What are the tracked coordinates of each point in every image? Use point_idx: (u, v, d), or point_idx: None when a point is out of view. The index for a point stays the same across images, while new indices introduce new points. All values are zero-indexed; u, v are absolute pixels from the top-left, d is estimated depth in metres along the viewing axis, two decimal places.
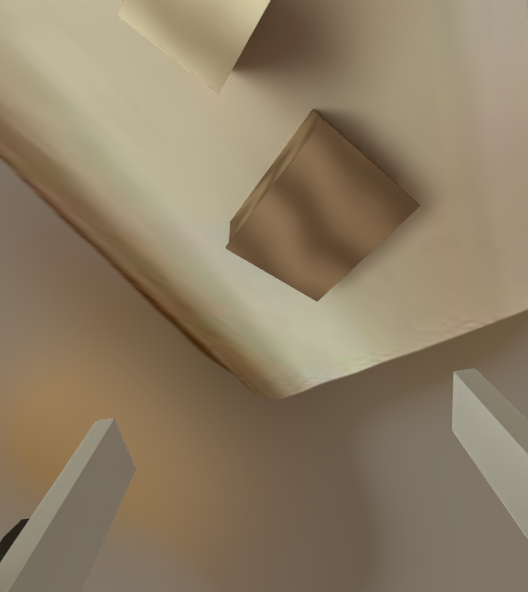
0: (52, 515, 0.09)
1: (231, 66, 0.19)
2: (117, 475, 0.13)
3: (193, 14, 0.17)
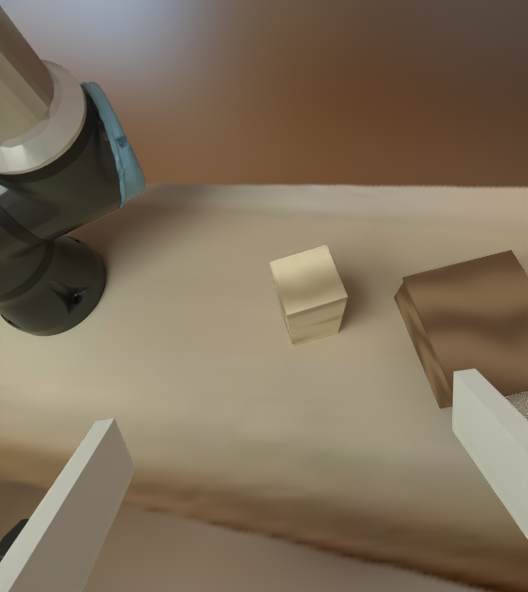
0: (52, 515, 0.09)
1: (340, 282, 0.32)
2: (117, 475, 0.13)
3: (310, 284, 0.33)
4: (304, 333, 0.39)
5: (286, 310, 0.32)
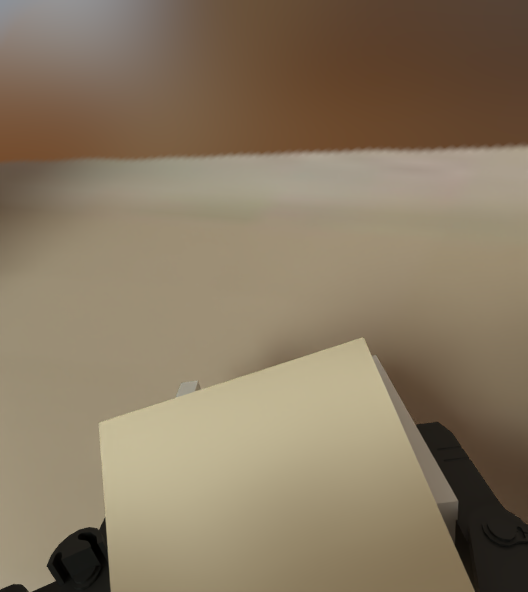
0: None
1: None
2: None
3: (289, 588, 0.06)
4: None
5: None
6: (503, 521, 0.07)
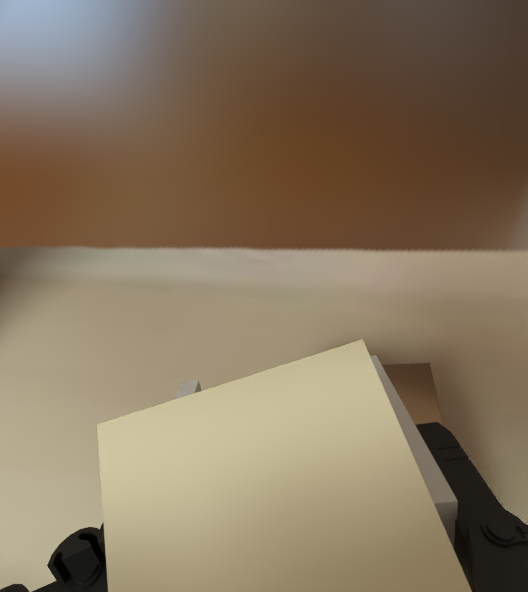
0: None
1: None
2: None
3: None
4: None
5: None
6: (502, 521, 0.07)
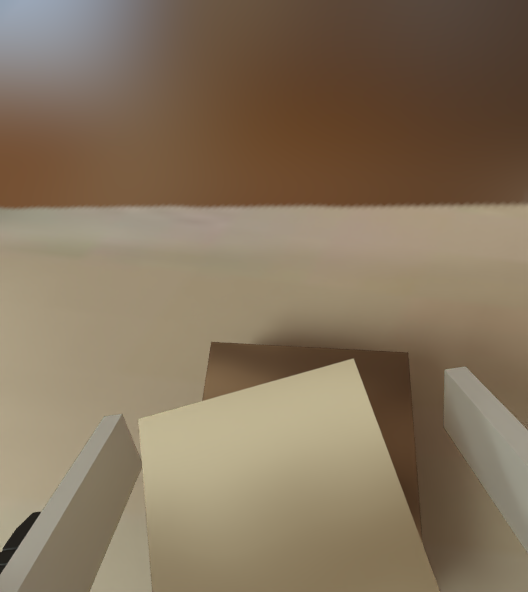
0: (64, 508, 0.10)
1: (423, 560, 0.07)
2: (125, 470, 0.13)
3: (287, 552, 0.07)
4: None
5: None
6: None
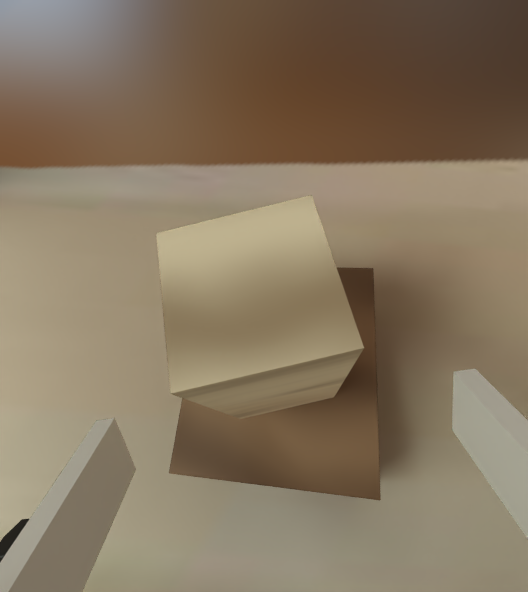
0: (52, 515, 0.09)
1: (344, 301, 0.11)
2: (117, 475, 0.13)
3: (255, 301, 0.11)
4: (256, 406, 0.17)
5: (172, 377, 0.10)
6: None
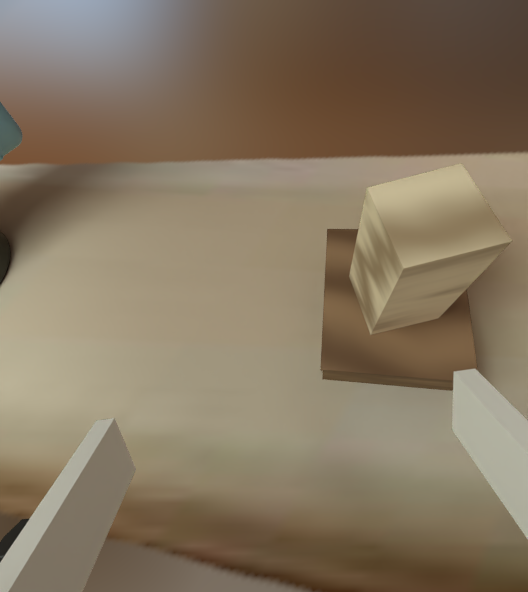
0: (52, 515, 0.09)
1: (495, 218, 0.19)
2: (117, 475, 0.13)
3: (441, 221, 0.19)
4: (400, 312, 0.25)
5: (402, 260, 0.19)
6: None
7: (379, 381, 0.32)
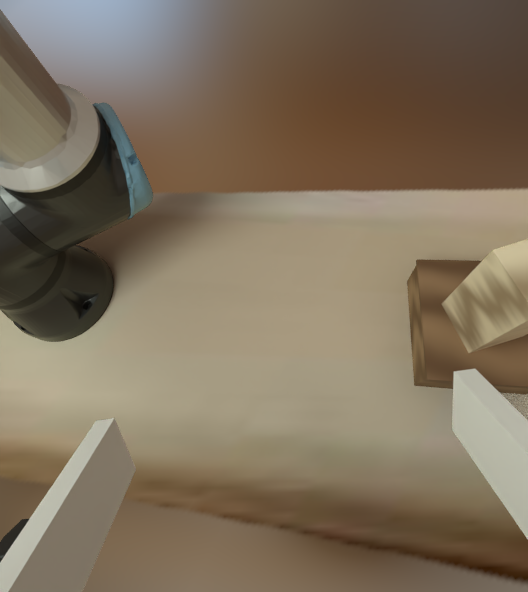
0: (52, 515, 0.09)
1: None
2: (117, 475, 0.13)
3: None
4: (504, 337, 0.32)
5: None
6: None
7: None
